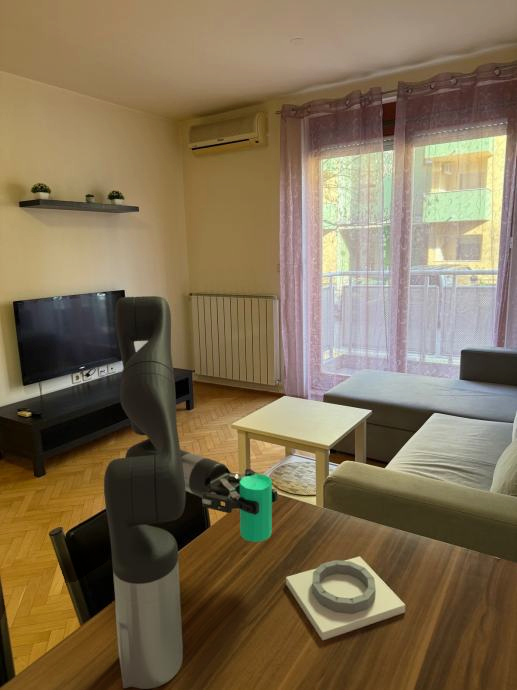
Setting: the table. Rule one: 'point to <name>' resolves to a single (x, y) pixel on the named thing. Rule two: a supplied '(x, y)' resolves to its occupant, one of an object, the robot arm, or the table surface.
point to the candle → (260, 523)
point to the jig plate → (343, 596)
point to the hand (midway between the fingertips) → (267, 502)
